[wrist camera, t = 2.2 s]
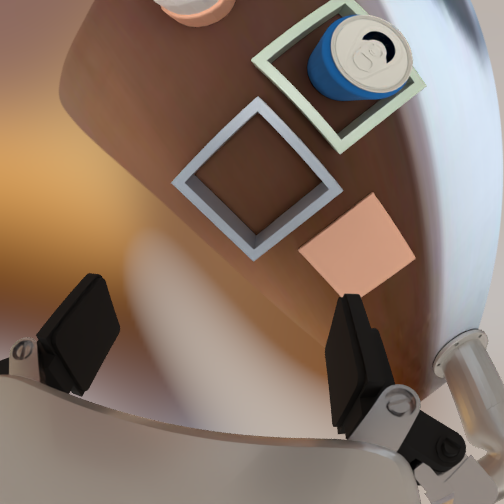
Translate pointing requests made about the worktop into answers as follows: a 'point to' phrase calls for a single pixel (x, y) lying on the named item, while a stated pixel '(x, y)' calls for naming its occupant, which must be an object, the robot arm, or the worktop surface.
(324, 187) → the slate blue bin
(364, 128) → the sage green bin
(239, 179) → the worktop surface
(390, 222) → the terracotta mat
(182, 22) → the salt shaker
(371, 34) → the beverage can
